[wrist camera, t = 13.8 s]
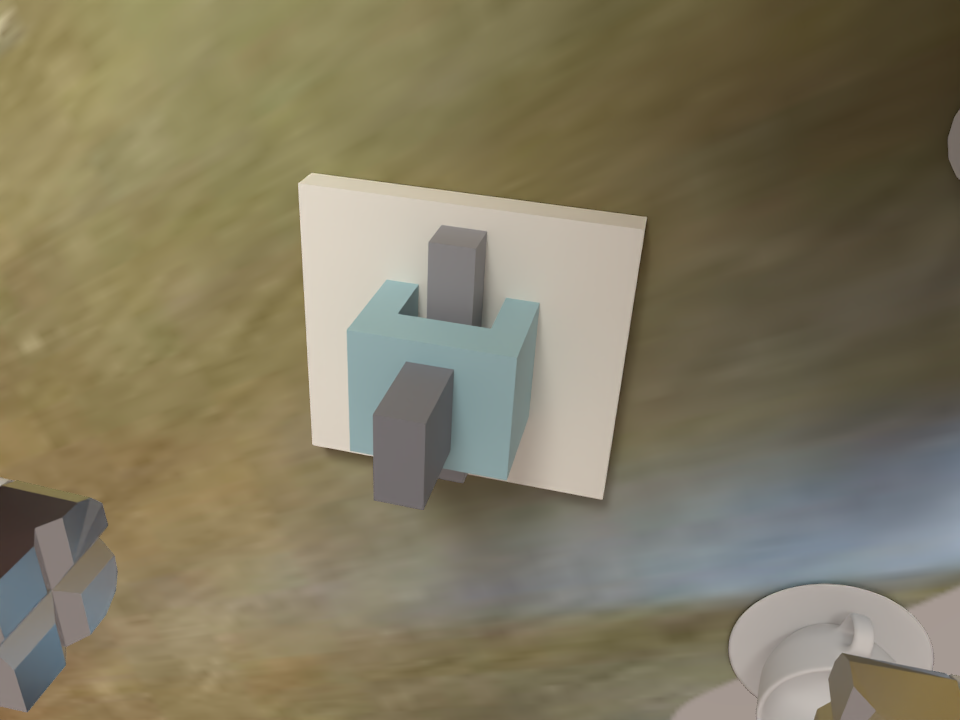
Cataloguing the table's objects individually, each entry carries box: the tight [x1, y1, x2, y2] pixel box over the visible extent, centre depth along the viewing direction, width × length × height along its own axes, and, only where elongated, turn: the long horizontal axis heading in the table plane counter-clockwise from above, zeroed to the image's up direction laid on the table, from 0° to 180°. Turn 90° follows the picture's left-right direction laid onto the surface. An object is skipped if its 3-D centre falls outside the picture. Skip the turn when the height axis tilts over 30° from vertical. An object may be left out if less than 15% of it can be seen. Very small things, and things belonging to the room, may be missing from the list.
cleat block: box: [347, 280, 540, 510], centre depth 37 cm, size 6×7×9 cm
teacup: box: [728, 584, 934, 720], centre depth 44 cm, size 10×10×5 cm
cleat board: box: [298, 173, 647, 500], centre depth 40 cm, size 14×15×4 cm
